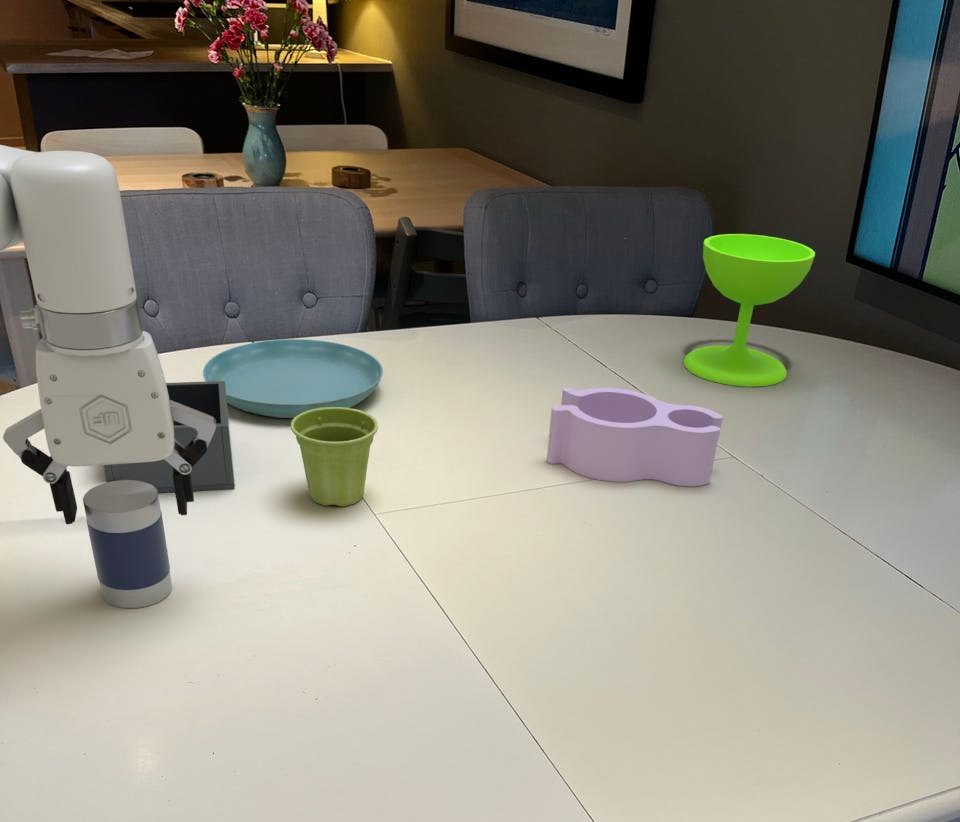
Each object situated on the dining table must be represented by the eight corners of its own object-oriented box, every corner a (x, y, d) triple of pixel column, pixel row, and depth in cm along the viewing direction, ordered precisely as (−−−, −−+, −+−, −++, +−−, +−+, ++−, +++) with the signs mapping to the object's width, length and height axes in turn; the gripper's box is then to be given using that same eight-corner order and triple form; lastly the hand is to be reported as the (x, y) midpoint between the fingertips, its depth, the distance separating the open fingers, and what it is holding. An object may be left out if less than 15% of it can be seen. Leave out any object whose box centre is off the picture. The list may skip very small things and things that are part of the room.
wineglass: (718, 390, 146) (743, 264, 135) (664, 354, 158) (683, 236, 147) (808, 381, 151) (838, 259, 140) (748, 347, 163) (772, 232, 152)
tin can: (98, 611, 91) (79, 515, 85) (103, 575, 96) (85, 481, 90) (172, 605, 92) (157, 510, 87) (173, 569, 97) (159, 477, 92)
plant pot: (395, 496, 113) (396, 425, 108) (332, 523, 107) (329, 449, 102) (341, 470, 118) (338, 400, 113) (277, 494, 112) (272, 421, 107)
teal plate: (169, 388, 135) (166, 364, 134) (304, 349, 151) (303, 328, 149) (283, 442, 123) (282, 417, 121) (418, 394, 138) (419, 371, 136)
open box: (108, 496, 109) (97, 431, 105) (116, 445, 120) (105, 384, 116) (234, 488, 112) (228, 425, 108) (230, 439, 123) (225, 380, 119)
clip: (715, 456, 126) (725, 404, 122) (706, 497, 116) (717, 443, 112) (562, 431, 130) (567, 380, 126) (541, 470, 120) (546, 416, 116)
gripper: (-33, 343, 75) (20, 541, 85) (203, 334, 78) (227, 524, 88) (-16, 313, 81) (31, 501, 90) (202, 305, 84) (225, 487, 94)
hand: (128, 512), depth 89 cm, fingers open, 9 cm apart
